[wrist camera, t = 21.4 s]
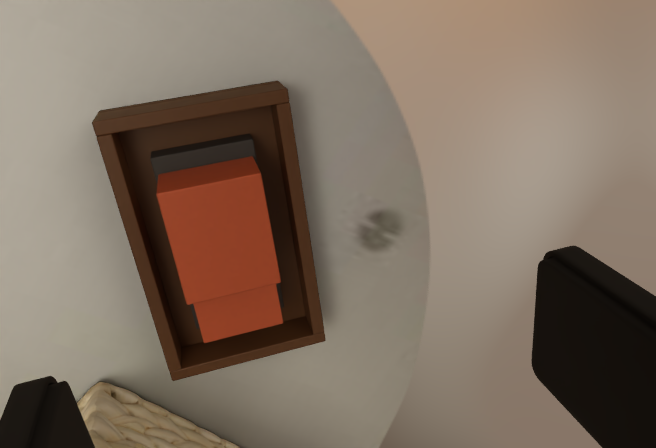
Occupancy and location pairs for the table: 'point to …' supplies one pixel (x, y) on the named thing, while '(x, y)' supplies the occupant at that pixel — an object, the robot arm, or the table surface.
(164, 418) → the basket
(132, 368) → the table surface
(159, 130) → the tray
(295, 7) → the table surface
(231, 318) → the shoe
